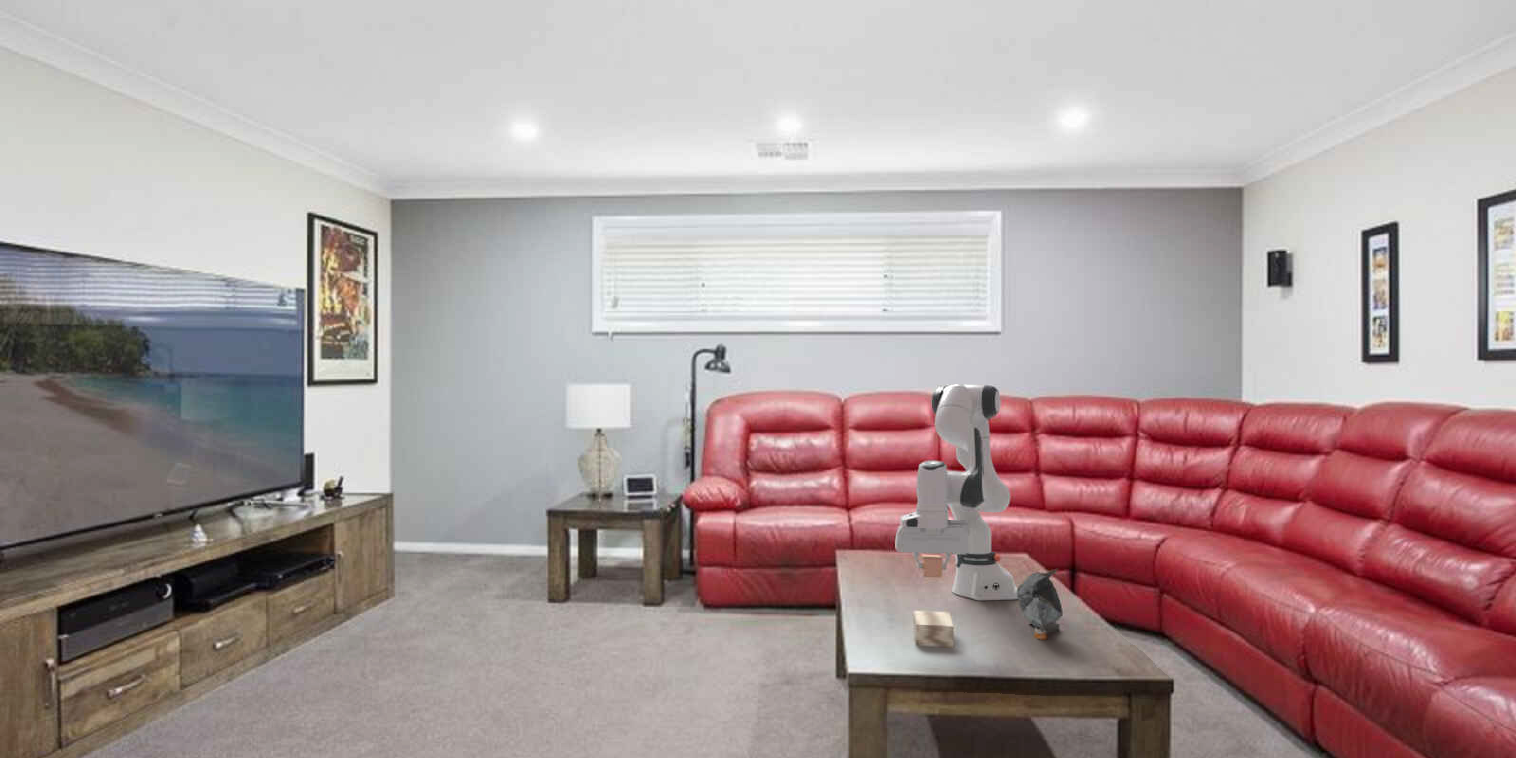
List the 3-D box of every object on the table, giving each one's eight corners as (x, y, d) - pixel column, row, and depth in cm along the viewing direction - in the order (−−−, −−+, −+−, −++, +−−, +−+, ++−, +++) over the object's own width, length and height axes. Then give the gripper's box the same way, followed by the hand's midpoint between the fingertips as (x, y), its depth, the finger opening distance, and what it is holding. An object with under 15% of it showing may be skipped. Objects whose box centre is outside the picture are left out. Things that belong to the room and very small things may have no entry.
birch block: (949, 633, 219) (949, 612, 218) (953, 648, 207) (953, 626, 207) (913, 631, 220) (913, 610, 220) (915, 646, 208) (915, 624, 208)
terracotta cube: (939, 572, 216) (939, 555, 215) (942, 577, 211) (942, 559, 211) (921, 572, 216) (921, 554, 216) (923, 576, 211) (923, 558, 211)
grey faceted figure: (1003, 633, 218) (1003, 570, 217) (1033, 622, 227) (1033, 562, 227) (1048, 647, 206) (1048, 581, 206) (1078, 635, 216) (1079, 572, 215)
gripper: (968, 518, 215) (967, 567, 215) (894, 516, 217) (894, 565, 217) (972, 522, 209) (971, 573, 209) (896, 520, 211) (896, 570, 211)
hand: (931, 569), depth 213 cm, fingers closed on terracotta cube, 5 cm apart
